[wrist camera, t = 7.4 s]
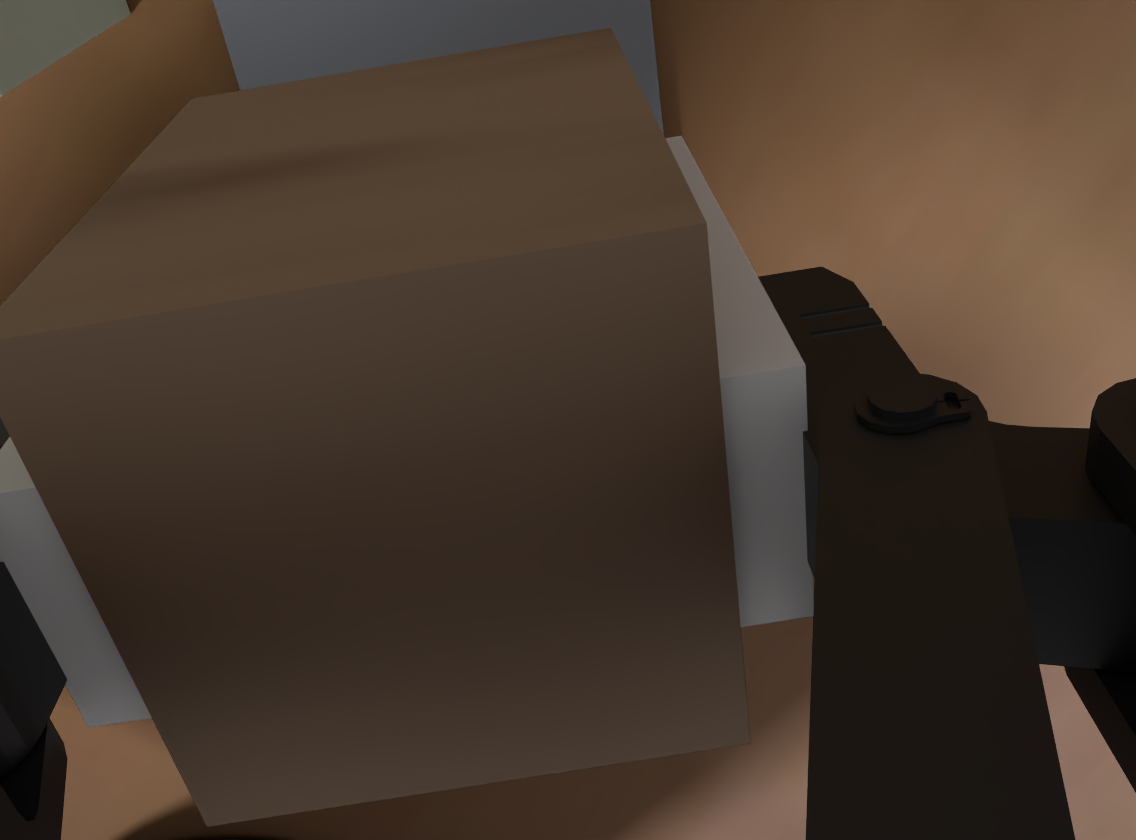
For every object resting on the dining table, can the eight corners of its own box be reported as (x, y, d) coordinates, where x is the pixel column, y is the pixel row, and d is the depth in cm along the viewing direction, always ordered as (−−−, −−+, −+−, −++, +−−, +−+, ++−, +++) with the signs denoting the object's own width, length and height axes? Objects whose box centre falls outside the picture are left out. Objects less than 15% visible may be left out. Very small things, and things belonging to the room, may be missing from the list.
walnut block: (655, 393, 16) (750, 743, 11) (308, 449, 17) (206, 827, 11) (610, 27, 14) (707, 223, 8) (192, 98, 14) (-37, 344, 8)
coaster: (673, 250, 26) (676, 258, 26) (311, 310, 26) (309, 318, 26) (630, -164, 21) (633, -162, 21) (193, -89, 22) (186, -86, 21)
